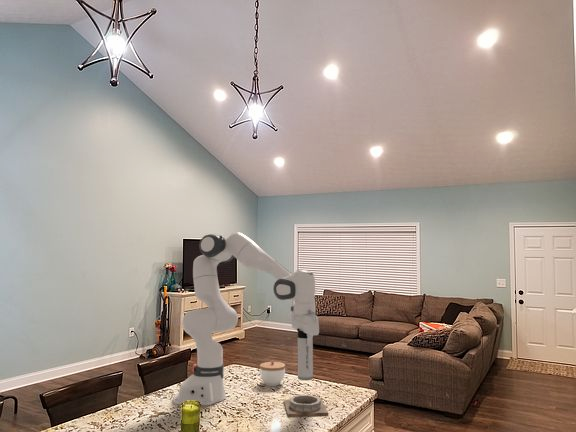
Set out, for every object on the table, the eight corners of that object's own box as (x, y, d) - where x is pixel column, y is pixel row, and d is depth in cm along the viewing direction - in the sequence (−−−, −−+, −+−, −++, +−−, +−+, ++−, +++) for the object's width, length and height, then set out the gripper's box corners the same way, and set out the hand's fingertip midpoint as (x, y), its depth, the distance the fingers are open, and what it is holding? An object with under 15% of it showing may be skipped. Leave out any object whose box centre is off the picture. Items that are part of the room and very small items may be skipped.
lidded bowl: (256, 381, 212) (257, 358, 213) (281, 379, 216) (281, 356, 217) (263, 389, 200) (263, 364, 201) (288, 386, 204) (288, 362, 205)
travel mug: (300, 375, 180) (300, 327, 182) (315, 377, 177) (314, 328, 179) (294, 379, 174) (294, 329, 176) (309, 381, 172) (309, 330, 173)
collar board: (287, 416, 166) (287, 407, 166) (283, 402, 182) (283, 394, 182) (328, 415, 167) (328, 405, 168) (320, 401, 183) (320, 392, 184)
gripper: (322, 311, 170) (323, 347, 169) (301, 306, 189) (301, 337, 187) (308, 312, 167) (308, 348, 166) (288, 306, 186) (288, 339, 185)
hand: (304, 342), depth 177 cm, fingers closed on travel mug, 6 cm apart
